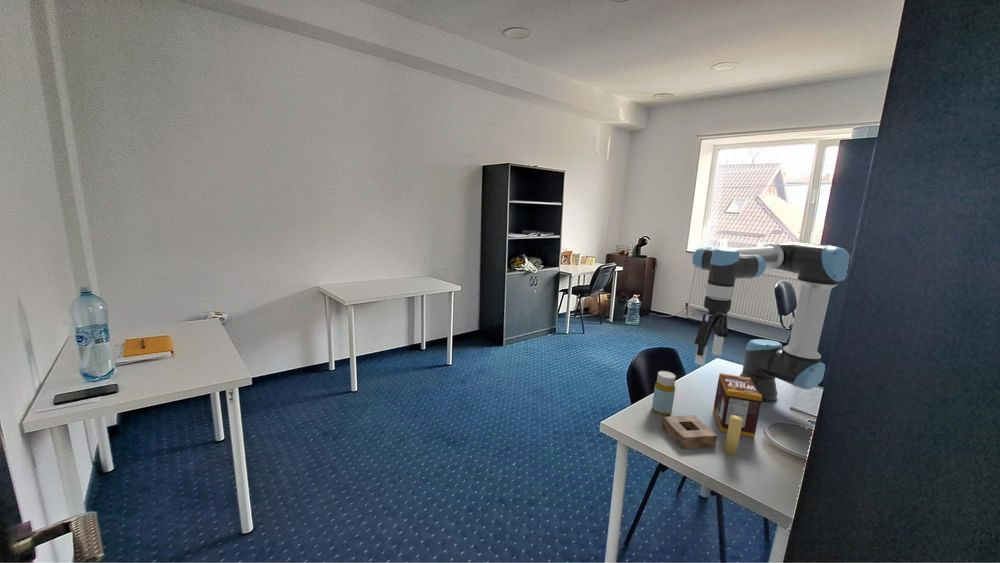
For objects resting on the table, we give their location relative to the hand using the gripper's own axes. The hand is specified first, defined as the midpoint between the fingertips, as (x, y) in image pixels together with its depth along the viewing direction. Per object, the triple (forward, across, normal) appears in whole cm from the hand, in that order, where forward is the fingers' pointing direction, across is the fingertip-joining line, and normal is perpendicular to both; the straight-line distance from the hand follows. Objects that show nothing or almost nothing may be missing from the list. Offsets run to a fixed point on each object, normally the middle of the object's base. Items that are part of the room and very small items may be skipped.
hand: (708, 359), depth 128 cm
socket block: (+27, +4, -1) cm, 28 cm away
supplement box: (+28, -17, +6) cm, 33 cm away
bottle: (+28, -4, -14) cm, 31 cm away
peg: (+27, +2, +12) cm, 30 cm away
